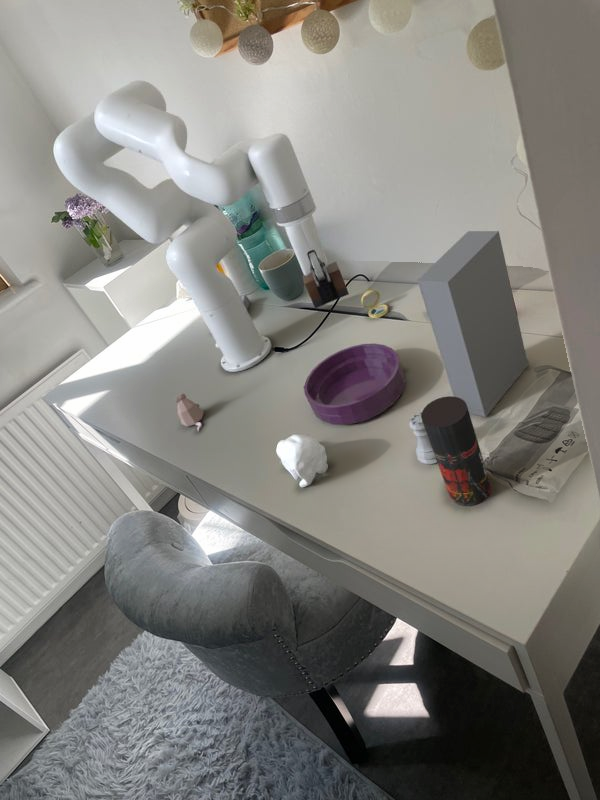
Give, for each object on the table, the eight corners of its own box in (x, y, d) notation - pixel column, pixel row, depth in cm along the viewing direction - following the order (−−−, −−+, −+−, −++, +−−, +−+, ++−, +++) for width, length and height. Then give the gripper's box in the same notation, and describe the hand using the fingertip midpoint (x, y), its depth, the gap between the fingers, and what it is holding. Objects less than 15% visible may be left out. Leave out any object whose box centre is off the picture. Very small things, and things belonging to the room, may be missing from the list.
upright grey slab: (496, 359, 107) (464, 230, 93) (529, 365, 103) (500, 230, 89) (453, 410, 101) (411, 280, 88) (486, 418, 97) (447, 283, 83)
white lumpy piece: (287, 457, 94) (254, 435, 104) (310, 496, 98) (276, 471, 108) (319, 432, 96) (282, 413, 106) (340, 472, 100) (303, 449, 110)
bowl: (295, 416, 117) (285, 396, 114) (351, 358, 125) (343, 338, 123) (368, 437, 104) (358, 415, 101) (425, 371, 112) (418, 349, 110)
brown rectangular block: (315, 308, 118) (304, 284, 115) (312, 299, 121) (302, 275, 118) (349, 294, 117) (339, 269, 114) (345, 286, 120) (335, 261, 117)
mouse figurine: (188, 437, 126) (172, 413, 122) (180, 419, 132) (165, 396, 129) (210, 425, 126) (194, 400, 123) (201, 407, 133) (187, 384, 129)
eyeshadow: (374, 320, 133) (367, 301, 131) (364, 313, 138) (357, 294, 135) (391, 310, 134) (385, 291, 131) (381, 303, 138) (374, 285, 135)
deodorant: (443, 483, 90) (416, 406, 82) (482, 469, 89) (459, 390, 81) (456, 511, 85) (428, 433, 77) (497, 497, 84) (473, 416, 76)
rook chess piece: (440, 467, 92) (426, 429, 88) (413, 464, 95) (398, 426, 91) (450, 446, 95) (437, 408, 91) (423, 444, 98) (410, 406, 93)
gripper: (270, 203, 116) (306, 286, 126) (277, 232, 102) (317, 322, 112) (307, 187, 115) (340, 271, 125) (319, 213, 101) (355, 306, 111)
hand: (328, 294), depth 119 cm, fingers closed on brown rectangular block, 4 cm apart
